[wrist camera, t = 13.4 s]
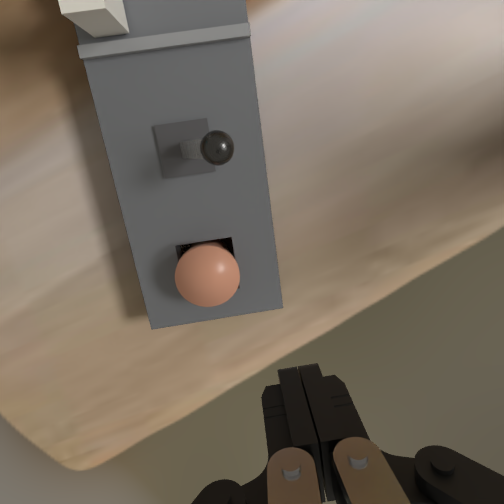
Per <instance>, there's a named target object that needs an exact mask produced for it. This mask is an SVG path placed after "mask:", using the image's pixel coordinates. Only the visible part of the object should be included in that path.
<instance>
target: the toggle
mask: <svg viewBox="0 0 504 504" xmlns="http://www.w3.org/2000/svg"><path fill="white" fill-rule="evenodd" d="M180 147H181V153H182V158H191V159H205V161H207V162H208V163H209V164H212V165H216V166H220V165H224V164H226V163H227V162H229V161H230V160H231V158H232V157H233V154H234V142H233V140H232V138H231V137H230V136H229V135H228V134H227V133H226V132H224V131H221V130H213V131H210V132H208V133H207V134H206V135H205V136H204V137H203V138H202V139H194V140H188V141H182V142H180Z"/></svg>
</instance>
